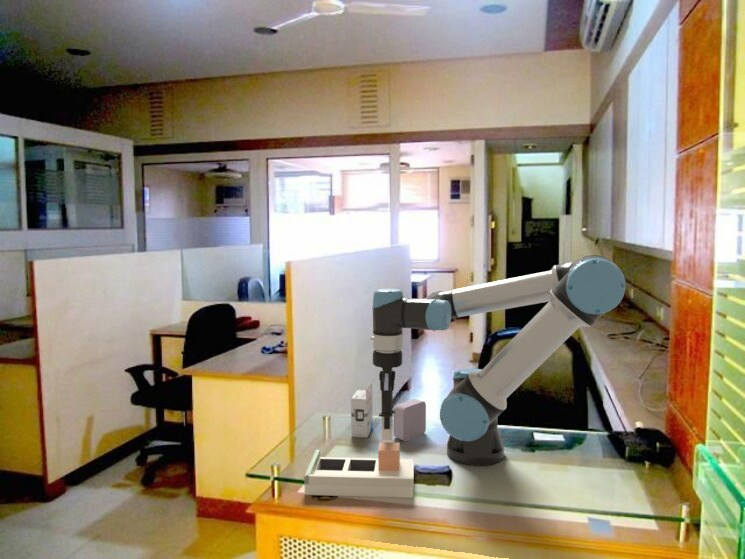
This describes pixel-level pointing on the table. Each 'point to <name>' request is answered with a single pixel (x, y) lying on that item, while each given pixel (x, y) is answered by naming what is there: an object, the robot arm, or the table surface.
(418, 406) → the electronic device
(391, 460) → the terracotta block
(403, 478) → the tray
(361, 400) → the ink box
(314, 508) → the table surface
